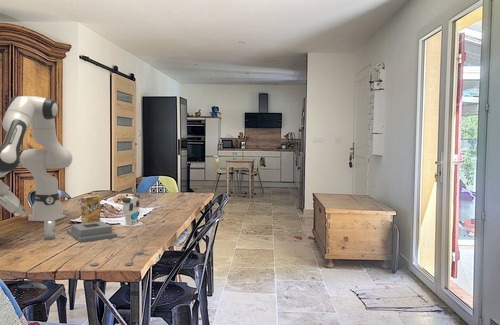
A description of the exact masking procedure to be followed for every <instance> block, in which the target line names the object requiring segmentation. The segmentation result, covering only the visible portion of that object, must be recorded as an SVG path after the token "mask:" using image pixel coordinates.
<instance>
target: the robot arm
mask: <svg viewBox="0 0 500 325" xmlns="http://www.w3.org/2000/svg"><path fill="white" fill-rule="evenodd" d="M58 111H59V106H58V103H57V101H56V100H55V99H52V98H49V97H47V98H45V97H41V96H36V95H34V96H33V95H14V96H12V97H11V98H10V99H9V102H8V108H7V110H6V112H5V114H4V115H3V119H2V124H1V126H2V129H3V130H4V131H5V132H6V134H5V137H4V140H3V142H2V144H1V146H0V178H2V177H4V176H7V174H9V173H10V172H12V171H13V170H14V169H16V168H18V166H19V164H20V165H21V166H22V167H23V168H25V169H26V170H27V171H28V172H30V174H31V175H32V177H33V179H34V185H35V195H34V203H33V205H32V206H31V207H29V212H30V214H28V218H27V219H28V220H27V221H29V222H44V221H47V220H55V221H57V220H60V219H63V218H66V217H67V216H66V214H63V213H64V212H63V202H61V201H60V193H59V180H58V178H57V177H55V176H54V175H52V174H50V173H48V171H47V169H48V170H49V169H51V170H52V169H53V170H54V169H55V170H56V169H57V170H58V169H60V170H61V169H65V168H69V167H70V166H71V164H72V162H73V155H72V153H71V151H69V150H68V149H67V148H65V147H64V146H63V145H62V144H61V143H60V141H59V140H58V138H57V131H56V121H55V120H56V119H55V118H56V117H57V116H58ZM30 127H31V130H32V139H33V140H34V142H35V143H36V144H38V145H39V146H40V145H41V146H42V147H44V148H29V149H25V150H23V151H22V152H21V153H20V147H21V145H22V142H23V139H24V137H25V135H26V133H27V132H28V130H29V128H30ZM0 205H1V207H3V208H4V209H6V211H8V212H9V213H10V214H14V213H16V214H17V215H19V216H21V217H22V218H25V217H26V216H27V209H26V208H25V207H24V206H23V205H22V204H21V201H20V199H19V198H18V197H17V196H16V195H15V194H14V193H13V192H12V191H11V190H10V186H9V185H8V184H6V183H5V182H3V180H1V179H0Z"/></svg>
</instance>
